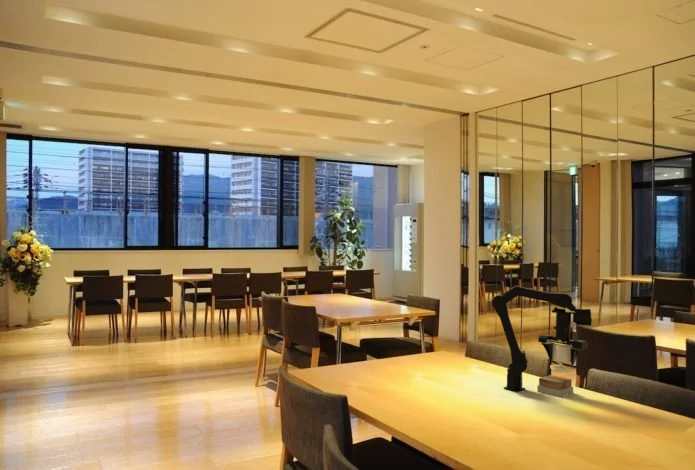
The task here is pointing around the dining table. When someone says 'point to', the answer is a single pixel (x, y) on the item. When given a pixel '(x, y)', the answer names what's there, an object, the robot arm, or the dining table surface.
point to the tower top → (555, 382)
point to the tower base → (554, 391)
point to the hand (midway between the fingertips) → (561, 363)
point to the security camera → (561, 356)
